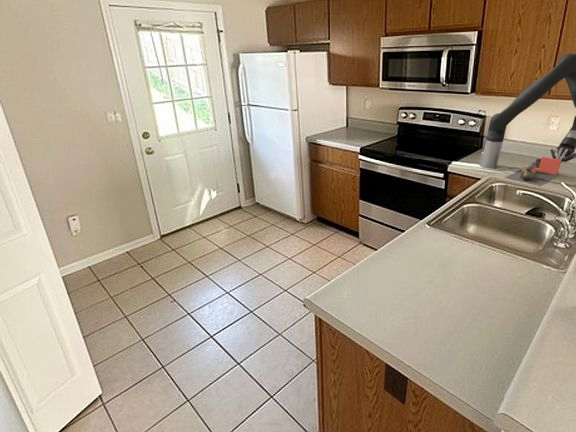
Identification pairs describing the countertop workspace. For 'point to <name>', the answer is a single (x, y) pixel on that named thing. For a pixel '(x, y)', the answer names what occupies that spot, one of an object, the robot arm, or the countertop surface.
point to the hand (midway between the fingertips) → (554, 166)
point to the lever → (546, 165)
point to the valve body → (527, 174)
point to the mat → (536, 180)
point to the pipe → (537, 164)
